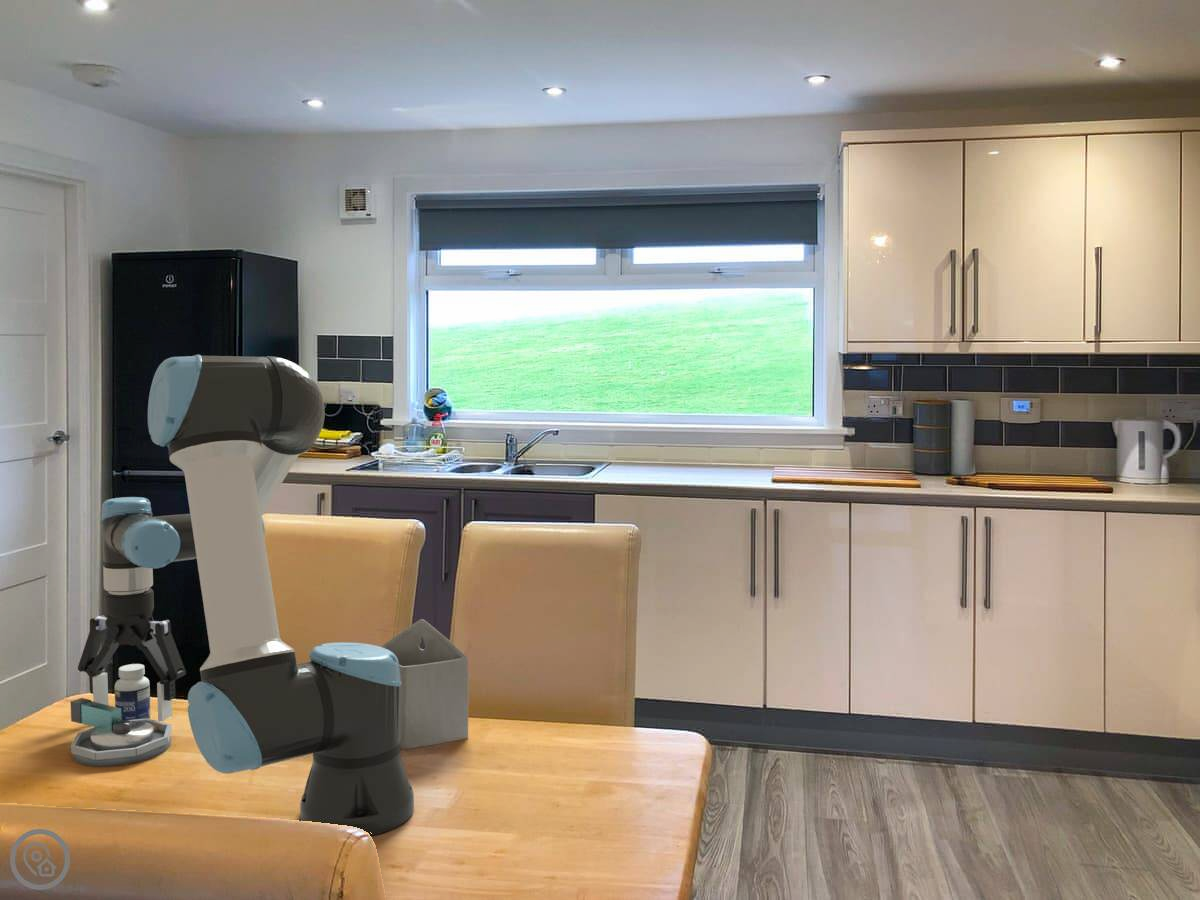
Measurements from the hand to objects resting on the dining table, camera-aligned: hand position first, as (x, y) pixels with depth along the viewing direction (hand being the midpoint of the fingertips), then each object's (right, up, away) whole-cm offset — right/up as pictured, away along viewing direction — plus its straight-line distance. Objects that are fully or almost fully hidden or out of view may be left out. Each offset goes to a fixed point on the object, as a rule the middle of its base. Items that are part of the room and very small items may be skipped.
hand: (133, 715), depth 172 cm
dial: (+1, -1, -10) cm, 10 cm away
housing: (+4, -2, -11) cm, 12 cm away
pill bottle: (0, -2, 0) cm, 2 cm away
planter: (+49, -3, -7) cm, 49 cm away
